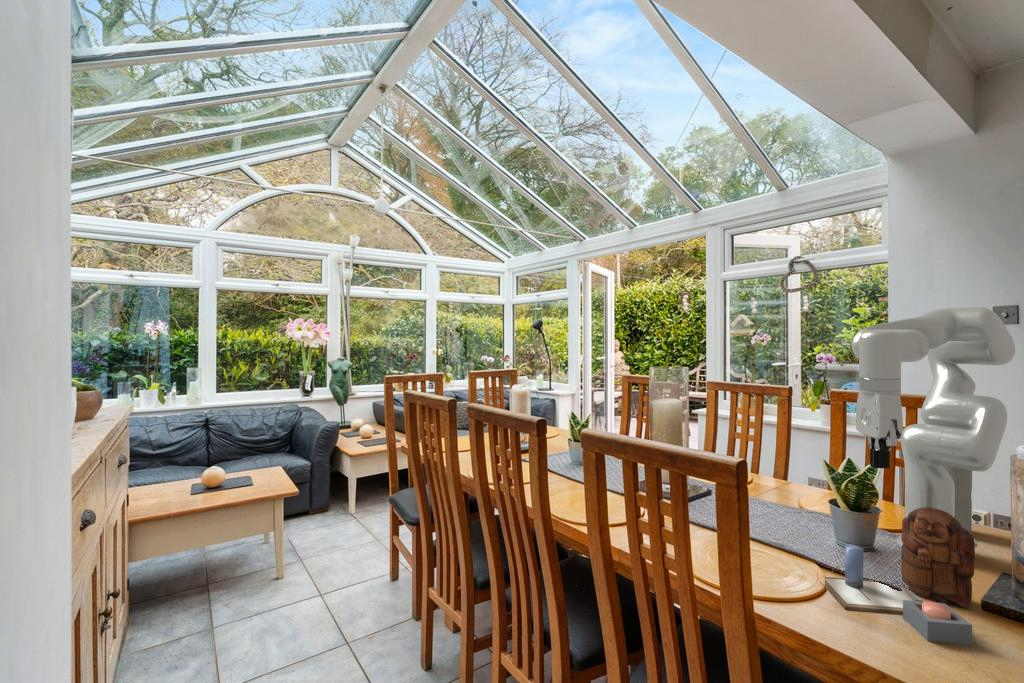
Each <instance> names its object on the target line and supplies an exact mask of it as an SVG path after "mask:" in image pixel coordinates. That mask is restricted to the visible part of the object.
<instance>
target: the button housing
mask: <svg viewBox="0 0 1024 683" xmlns="http://www.w3.org/2000/svg"><path fill="white" fill-rule="evenodd" d="M923 602H924V601H923V600H922V601H909V600H903V614H902V619H903V620H904V621H906V622H907V623H908V624H909V625H910V626H911V627H912V628H913V630H915V631H916V632H918V634H920V636H922V637H923V638H924V639H925V640H926V641H927V642H939V643H946V644H947V643H948V644H950V643H951V644H957V645H958V644H960V645H961V644H962V645H971V646H972V645H973V624H972V623H970V622H969V621H968V620H967V619H966V618H964V617H963V616H962V615H960V614H959V613H958V612H956V611H955V610H954V609H952V608H951V607H950V606H949V605H948V604H945V603H943V602H937V603H938V604H941V605H944V606H946V607H947V608H949V609H950V611H951V620H948V619H936V618H930V617H929V616H928V615H926V614H925V613H924V612H923V611H922V603H923Z"/></svg>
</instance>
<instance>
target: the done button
mask: <svg viewBox="0 0 1024 683" xmlns="http://www.w3.org/2000/svg"><path fill="white" fill-rule="evenodd" d="M922 602H923V603H922V611H923V612H924V613H925V614H926V615H928V616H929V617H930V618H936V619H948V620H951V611H950V609H949V608H947V607H946V606H944V605H941V604H938V603H939V602H935V601H927V600H926V601H922Z"/></svg>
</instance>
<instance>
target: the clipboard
mask: <svg viewBox="0 0 1024 683" xmlns="http://www.w3.org/2000/svg"><path fill="white" fill-rule="evenodd" d="M824 577H825V586H826V588H825V589H826V590H827V591H828V593H830V594H831V596H832V598H834V599H835V600H836V601H837V602H838V603H839V605H840V606H841V607H842V608H843V609H844V610H850V611H862V612H875V613H886V614H887V613H889V614H900V615H903V600H909V601H922V602H923V599H921V598H920V596H918V595H916V594H914V593H913V592H911V591H910V590H909V589H908V588H906V587H905V586H903V587H900V588H901V589H902V591H897V590H894V589H892V588H890V587H889V586H887V585H884V584H881V583H879V582H876V581H877V580H876V581H875V582H874V581H873V579H863V588H860V589H859V588H853V587H850V586H848V585H846V584H845V577H833V576H832V577H831V576H824Z"/></svg>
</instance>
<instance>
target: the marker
mask: <svg viewBox="0 0 1024 683" xmlns="http://www.w3.org/2000/svg"><path fill="white" fill-rule="evenodd" d="M844 547H845V548H844V549H845V550H844V551H845V554H844V556H845V557H844V560H845V563H844V568H845V569H844V578H845V584H846V585H848V586H850V587H853V588H859V589H860V588H863V580H864V557H865V556H864V553H865V552H864V548H863V547H861V546H859V545H855V544H845V546H844Z"/></svg>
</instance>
